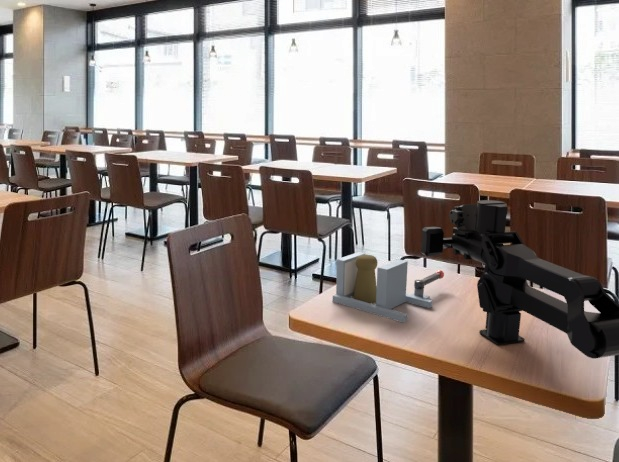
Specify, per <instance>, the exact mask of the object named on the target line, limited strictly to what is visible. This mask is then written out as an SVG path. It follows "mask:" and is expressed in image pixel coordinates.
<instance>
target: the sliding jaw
mask: <svg viewBox="0 0 619 462" xmlns="http://www.w3.org/2000/svg"><path fill="white" fill-rule="evenodd" d="M408 262H409V261H408V260H404V259H396V260H393V261H391V262H388V263H385V264H382V265H380V266H377V267H376V269H377V272H376V273H377V274H376V286H377V293H376V302H375V305H377V306H381V307H384V308H388V309H391V310H393V308H396V307H398V306H401V304H404V303H407V302H406V294H407V283H408V264H409V263H408Z"/></svg>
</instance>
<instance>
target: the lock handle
mask: <svg viewBox="0 0 619 462" xmlns="http://www.w3.org/2000/svg"><path fill="white" fill-rule="evenodd" d="M444 276H445V272H444V271H443V270H440V269H438V270H437V271H436V272H434V273H432V274H431V275H427V276H426V277H423V278H422V279H415V280H414V284H413V286H414V289H415V288H417V289H423V288H424V289H425V286H426V285H428V284H429V285H430V284H431V283H433V282H435V281H437V280H438V279H440V280H441V279H443V278H444Z"/></svg>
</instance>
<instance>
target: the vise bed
mask: <svg viewBox="0 0 619 462" xmlns="http://www.w3.org/2000/svg"><path fill="white" fill-rule="evenodd" d="M360 255H366V253H365V252H361V251H357V252H355V253H352V254H348V255H346V256H343V257H340V258H337V259H336V280H335V281H336V283H335V284H336V287H335V288H336V289H335V294H332V302H333V303H337V304H340V305H344V306H346V307H350V308H353V309H357V310H359V311H364V312H365V313H366V312H367V313H371V314H373V315H376V316H380V317H383V318H387V319H389V320H393V321H397V322H400V323H405V322H407V321H408V313H406V312H405V313H404V312H401V311H398V310H396V309H395V310H394V309H388V308H384V307H381V306H377V305H376V304H375V303H371V304H370V303H367V302H363V301H360V300H356V299H353V294H354V288H355V282H356V276H357V270H358V268H357V267H356V259H357V257H358V256H360ZM376 287H377V285H376ZM413 290H414V293H412V294H409V293H406V302H405V303H408V304H412V305H415V306H420V307H422V308H428V309H431V308H432V307H433V300H432V299H431V295H426V294H424V290H425V287H424V288H423V289H417V288H415V287H414V289H413Z"/></svg>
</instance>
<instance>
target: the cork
mask: <svg viewBox="0 0 619 462" xmlns="http://www.w3.org/2000/svg"><path fill="white" fill-rule="evenodd" d="M356 267H357V268H358V270H357V276H356V282H355V288H354V294H353V296H352V298H353V299H356V300H360V301H363V302H367V303H370V304H376V293H377V287H376V286H377V276H376V269H377V268H378V259H377V257H376V256H374V255H372V254H365V255H360V256H358V257H357V259H356Z"/></svg>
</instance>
